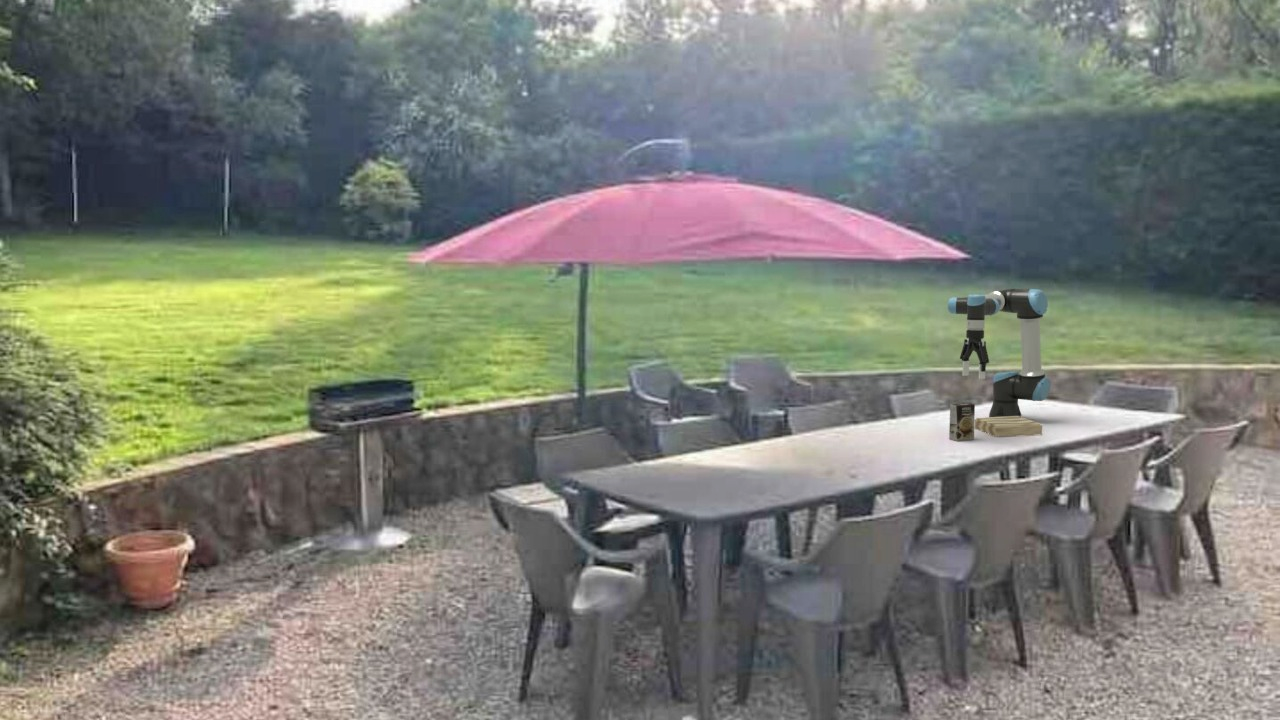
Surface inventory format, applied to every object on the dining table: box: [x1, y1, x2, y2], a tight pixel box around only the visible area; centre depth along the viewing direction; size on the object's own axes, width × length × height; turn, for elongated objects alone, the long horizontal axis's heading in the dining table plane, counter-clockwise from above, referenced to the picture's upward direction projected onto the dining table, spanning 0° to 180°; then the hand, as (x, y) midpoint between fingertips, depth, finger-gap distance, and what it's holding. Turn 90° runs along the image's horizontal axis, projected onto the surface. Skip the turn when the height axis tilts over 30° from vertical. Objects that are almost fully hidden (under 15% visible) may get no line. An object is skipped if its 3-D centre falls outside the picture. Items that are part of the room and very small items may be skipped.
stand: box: [974, 416, 1043, 438], centre depth 511 cm, size 22×22×5 cm
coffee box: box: [948, 402, 976, 442], centre depth 494 cm, size 9×6×16 cm
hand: (973, 377), depth 491 cm, fingers open, 13 cm apart
